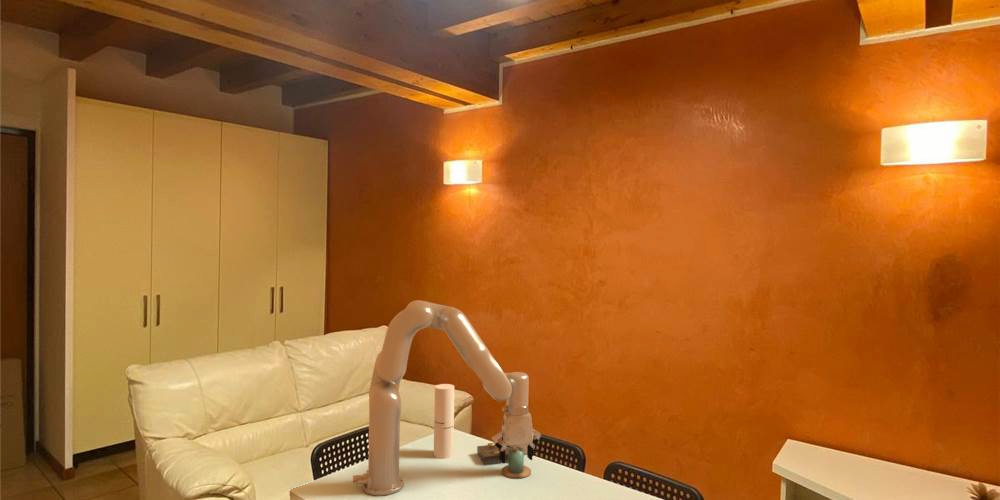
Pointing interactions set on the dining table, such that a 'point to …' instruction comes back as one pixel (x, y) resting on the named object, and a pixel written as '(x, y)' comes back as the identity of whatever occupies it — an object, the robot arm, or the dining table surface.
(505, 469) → the coaster
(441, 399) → the cylindrical container
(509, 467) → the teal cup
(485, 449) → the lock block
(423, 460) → the dining table surface
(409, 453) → the dining table surface
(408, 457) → the dining table surface
